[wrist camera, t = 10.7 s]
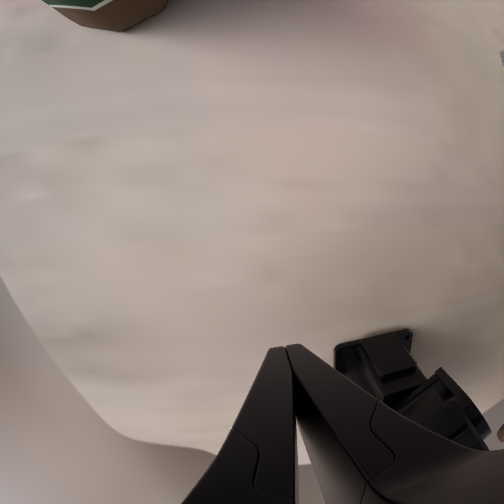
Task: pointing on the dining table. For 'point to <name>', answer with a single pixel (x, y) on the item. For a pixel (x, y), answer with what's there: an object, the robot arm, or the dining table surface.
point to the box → (503, 55)
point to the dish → (501, 434)
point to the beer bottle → (107, 12)
